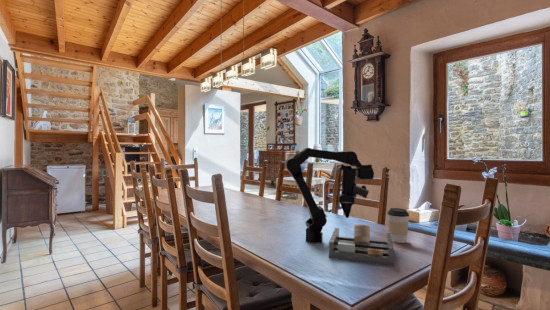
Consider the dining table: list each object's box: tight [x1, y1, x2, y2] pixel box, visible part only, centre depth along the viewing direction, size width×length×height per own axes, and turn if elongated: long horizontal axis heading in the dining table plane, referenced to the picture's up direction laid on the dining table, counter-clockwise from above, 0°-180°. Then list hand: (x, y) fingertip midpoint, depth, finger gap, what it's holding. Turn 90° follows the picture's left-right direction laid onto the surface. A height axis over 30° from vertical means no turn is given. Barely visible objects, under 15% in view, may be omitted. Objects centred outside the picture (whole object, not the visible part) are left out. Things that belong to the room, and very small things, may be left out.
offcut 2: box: [368, 248, 383, 256], centre depth 106 cm, size 5×2×4 cm, turn 72°
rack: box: [328, 227, 395, 267], centre depth 114 cm, size 22×20×7 cm
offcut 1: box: [338, 242, 355, 253], centre depth 109 cm, size 6×2×5 cm, turn 72°
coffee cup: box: [386, 207, 410, 244], centre depth 130 cm, size 9×9×15 cm
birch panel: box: [353, 223, 371, 243], centre depth 121 cm, size 6×2×9 cm, turn 72°
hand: (348, 215), depth 129 cm, fingers open, 9 cm apart
